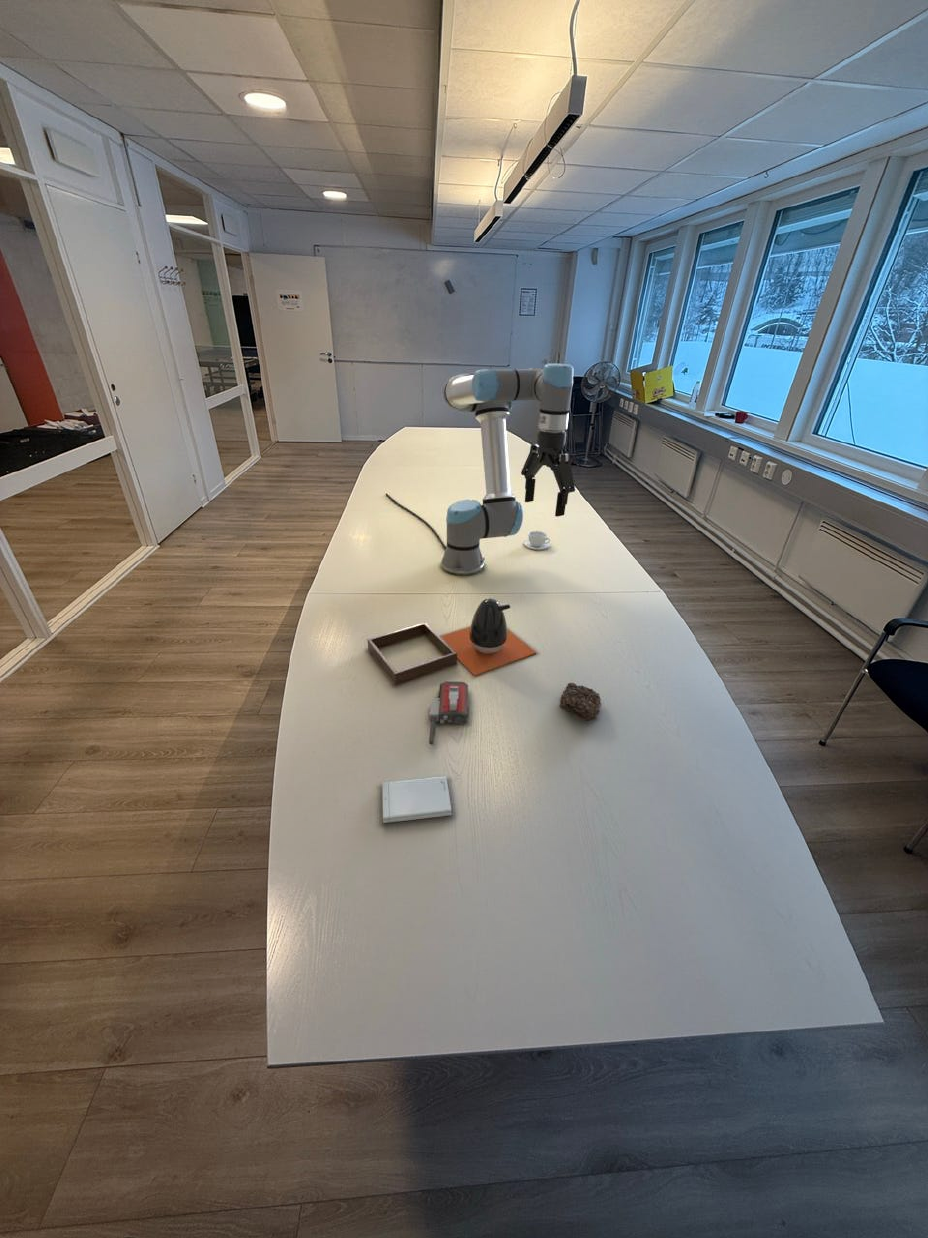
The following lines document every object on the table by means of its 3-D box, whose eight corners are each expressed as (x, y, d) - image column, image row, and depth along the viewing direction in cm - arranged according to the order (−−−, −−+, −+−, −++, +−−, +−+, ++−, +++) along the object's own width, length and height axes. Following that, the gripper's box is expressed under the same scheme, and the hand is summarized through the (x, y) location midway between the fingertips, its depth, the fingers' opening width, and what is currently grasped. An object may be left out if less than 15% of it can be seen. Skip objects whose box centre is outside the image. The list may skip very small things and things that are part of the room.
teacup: (521, 547, 197) (522, 536, 195) (528, 539, 205) (529, 528, 202) (545, 552, 194) (547, 541, 192) (551, 543, 202) (553, 532, 199)
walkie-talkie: (432, 687, 123) (426, 748, 106) (432, 673, 120) (425, 733, 103) (468, 688, 123) (467, 749, 106) (468, 674, 120) (468, 734, 103)
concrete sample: (591, 731, 111) (595, 713, 108) (549, 713, 115) (552, 697, 113) (608, 702, 119) (612, 685, 117) (568, 687, 124) (571, 671, 121)
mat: (436, 638, 141) (436, 637, 141) (494, 620, 150) (494, 618, 150) (474, 676, 127) (474, 675, 127) (536, 653, 136) (536, 652, 136)
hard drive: (446, 775, 98) (382, 781, 96) (451, 810, 91) (382, 818, 89) (446, 781, 98) (382, 787, 97) (451, 816, 91) (383, 824, 90)
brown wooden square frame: (368, 649, 136) (367, 639, 134) (425, 632, 144) (425, 622, 142) (395, 685, 123) (394, 674, 121) (456, 664, 131) (457, 653, 129)
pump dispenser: (504, 661, 132) (508, 612, 124) (465, 656, 133) (467, 607, 126) (509, 640, 140) (513, 592, 132) (472, 635, 142) (474, 588, 134)
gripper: (512, 422, 138) (507, 497, 149) (574, 440, 120) (563, 524, 131) (533, 420, 142) (527, 494, 153) (596, 437, 124) (584, 519, 135)
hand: (543, 508), depth 142 cm, fingers open, 13 cm apart
